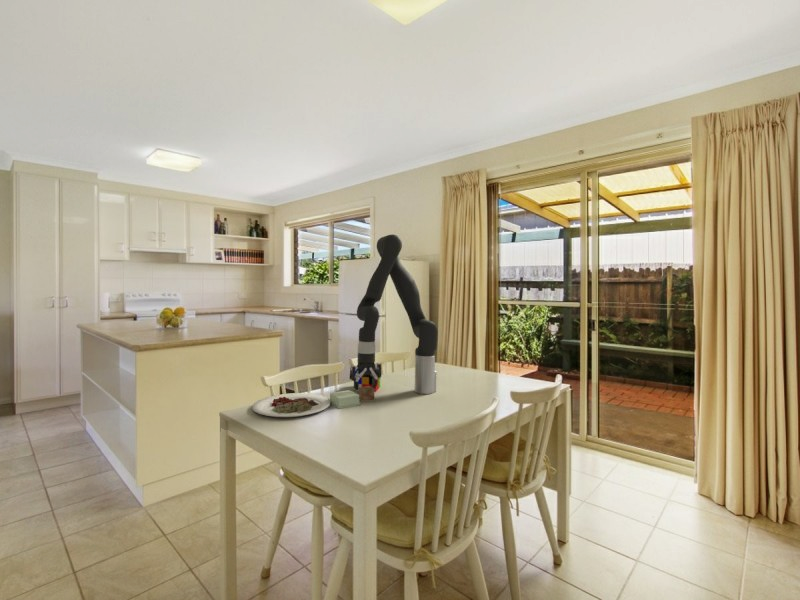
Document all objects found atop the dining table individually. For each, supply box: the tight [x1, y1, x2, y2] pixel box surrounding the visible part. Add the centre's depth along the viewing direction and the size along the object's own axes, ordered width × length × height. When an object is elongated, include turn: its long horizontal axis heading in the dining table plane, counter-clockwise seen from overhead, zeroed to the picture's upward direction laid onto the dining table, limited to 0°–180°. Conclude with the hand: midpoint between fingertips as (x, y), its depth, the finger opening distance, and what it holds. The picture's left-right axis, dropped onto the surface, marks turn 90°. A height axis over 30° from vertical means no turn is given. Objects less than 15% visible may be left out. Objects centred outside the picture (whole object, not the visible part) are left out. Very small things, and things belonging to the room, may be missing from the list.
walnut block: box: [358, 386, 376, 403], centre depth 176 cm, size 5×5×5 cm
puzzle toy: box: [354, 368, 382, 393], centre depth 193 cm, size 10×10×10 cm
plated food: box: [252, 392, 331, 418], centre depth 163 cm, size 30×30×3 cm
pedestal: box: [329, 389, 362, 410], centre depth 169 cm, size 10×10×4 cm
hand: (365, 388), depth 176 cm, fingers open, 8 cm apart
